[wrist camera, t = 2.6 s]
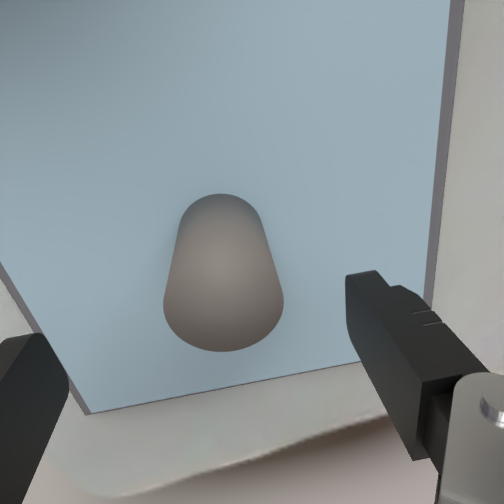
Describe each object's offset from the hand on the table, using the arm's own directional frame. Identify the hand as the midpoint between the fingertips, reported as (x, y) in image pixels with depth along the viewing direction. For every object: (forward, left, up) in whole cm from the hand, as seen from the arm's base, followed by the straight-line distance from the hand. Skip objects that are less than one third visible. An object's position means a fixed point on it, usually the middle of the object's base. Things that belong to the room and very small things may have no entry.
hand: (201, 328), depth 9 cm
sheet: (-1, 0, -7) cm, 7 cm away
